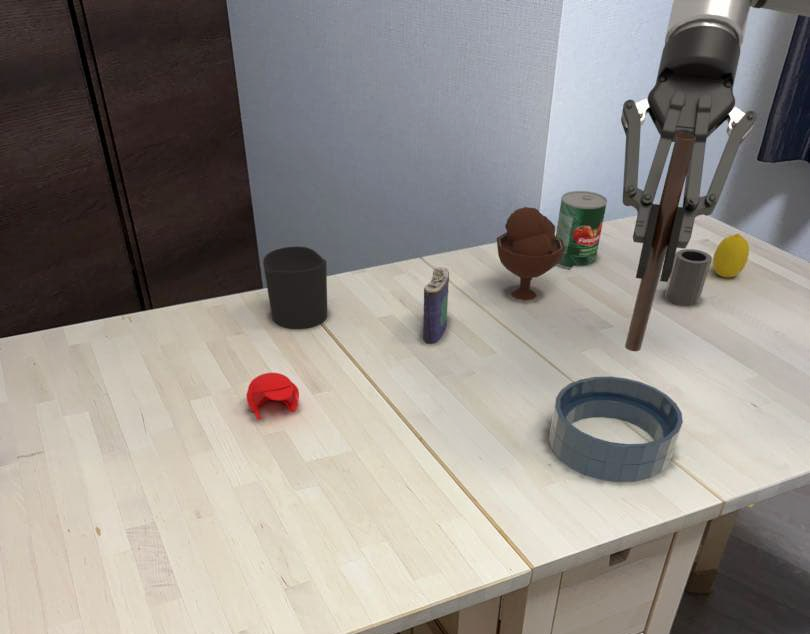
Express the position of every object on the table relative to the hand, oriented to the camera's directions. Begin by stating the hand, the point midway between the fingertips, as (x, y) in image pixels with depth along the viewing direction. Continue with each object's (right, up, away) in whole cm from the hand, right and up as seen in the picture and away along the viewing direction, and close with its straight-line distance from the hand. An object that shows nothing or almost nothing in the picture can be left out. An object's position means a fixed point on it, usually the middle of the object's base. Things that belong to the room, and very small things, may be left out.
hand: (653, 274), depth 75 cm
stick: (+1, -5, +10) cm, 11 cm away
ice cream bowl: (-5, +14, +50) cm, 52 cm away
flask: (-20, +5, +41) cm, 46 cm away
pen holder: (-42, +8, +43) cm, 61 cm away
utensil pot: (+21, +13, +50) cm, 56 cm away
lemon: (+31, +19, +57) cm, 68 cm away
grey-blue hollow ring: (+1, -15, +20) cm, 25 cm away
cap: (-43, -10, +24) cm, 50 cm away
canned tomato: (+6, +24, +62) cm, 66 cm away
